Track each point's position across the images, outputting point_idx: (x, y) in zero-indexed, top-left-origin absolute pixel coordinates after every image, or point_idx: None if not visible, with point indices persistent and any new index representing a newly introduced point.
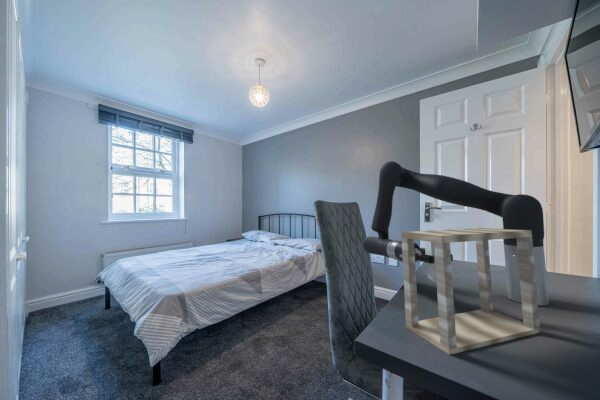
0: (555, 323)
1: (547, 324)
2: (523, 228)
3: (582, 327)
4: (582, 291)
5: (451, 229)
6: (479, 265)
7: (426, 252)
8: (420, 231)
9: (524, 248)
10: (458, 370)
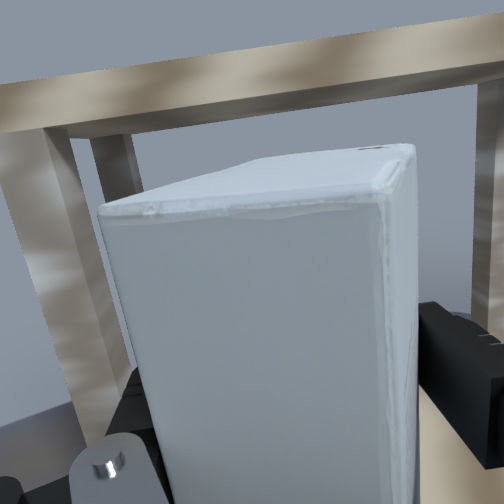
0: (49, 452)
1: (80, 450)
2: None
3: (30, 427)
4: None
5: (284, 44)
6: (109, 344)
7: (409, 433)
8: None
9: (138, 176)
10: None
